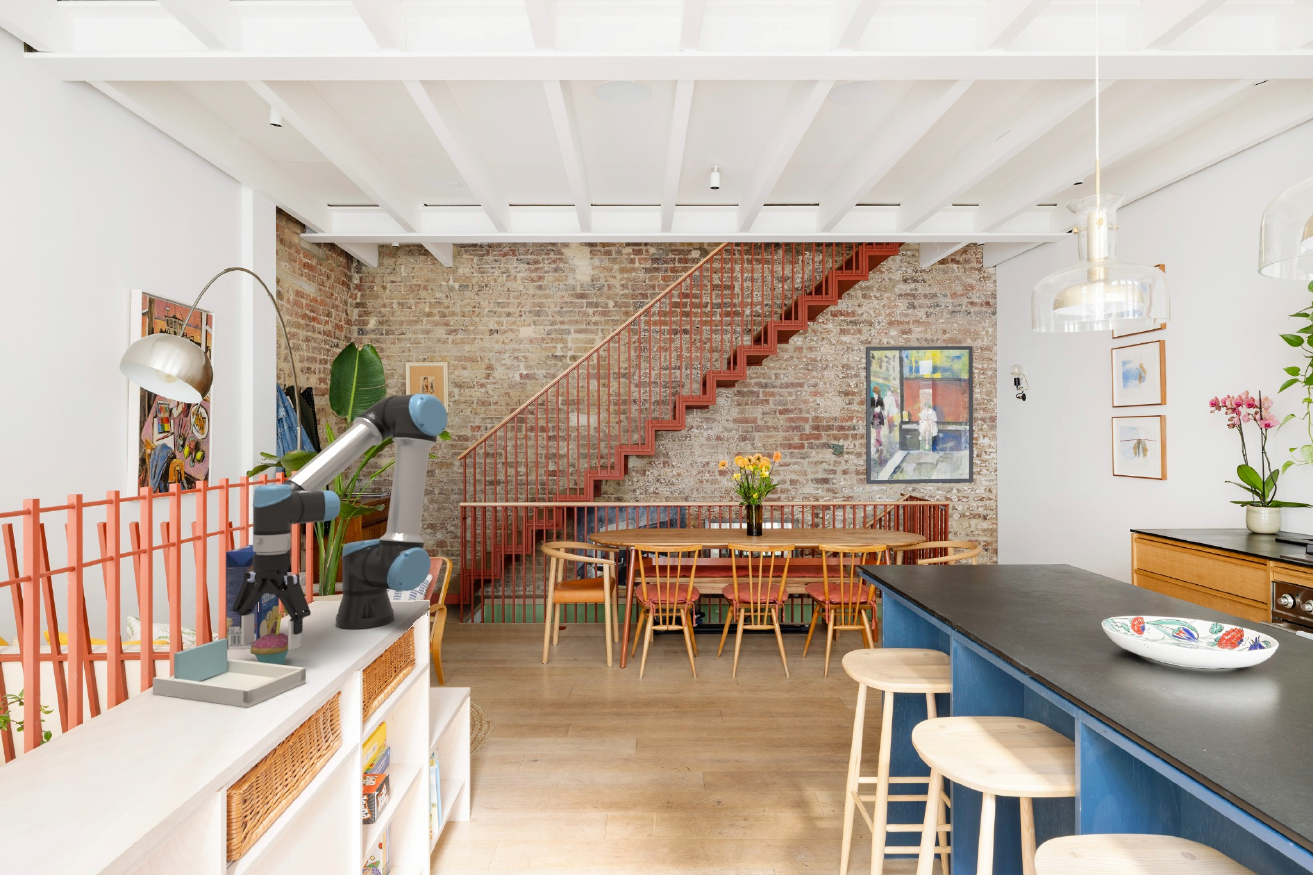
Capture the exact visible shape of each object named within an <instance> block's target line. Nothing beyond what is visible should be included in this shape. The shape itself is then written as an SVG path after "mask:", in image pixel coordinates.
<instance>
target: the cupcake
mask: <svg viewBox="0 0 1313 875" xmlns="http://www.w3.org/2000/svg"><path fill="white" fill-rule="evenodd" d="M281 621H282V610H279V615H278V621H277V628H276V634H275V633H274V634H273V633H270V634H268V635H265V636H263V637H260V638H258V639H257V640H256V641H254V642H253V643H252V645H251V649H250V651H249V652H250V654H252V655H254V656H255V657H256V659H257V662H261V663H270V664H278V665H285V662H286V660H287V659H286V658H287V656H288V653H289V651H290V650H288V634H286V633H280V629H281V628H280V627H281Z"/></svg>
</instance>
